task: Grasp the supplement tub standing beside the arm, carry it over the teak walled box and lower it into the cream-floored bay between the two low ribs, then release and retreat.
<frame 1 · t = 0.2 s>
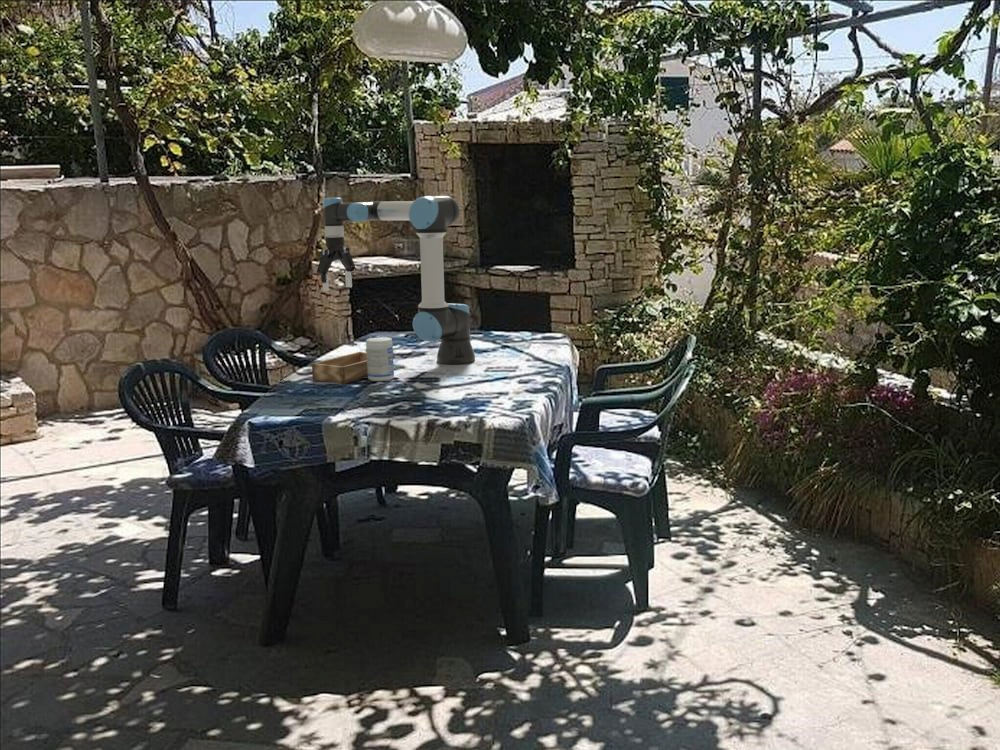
hand: (337, 289, 360), 28 cm above the table, fingers open, 13 cm apart
walled box: (352, 375, 329), on the table
supplement tub: (381, 379, 321), on the table
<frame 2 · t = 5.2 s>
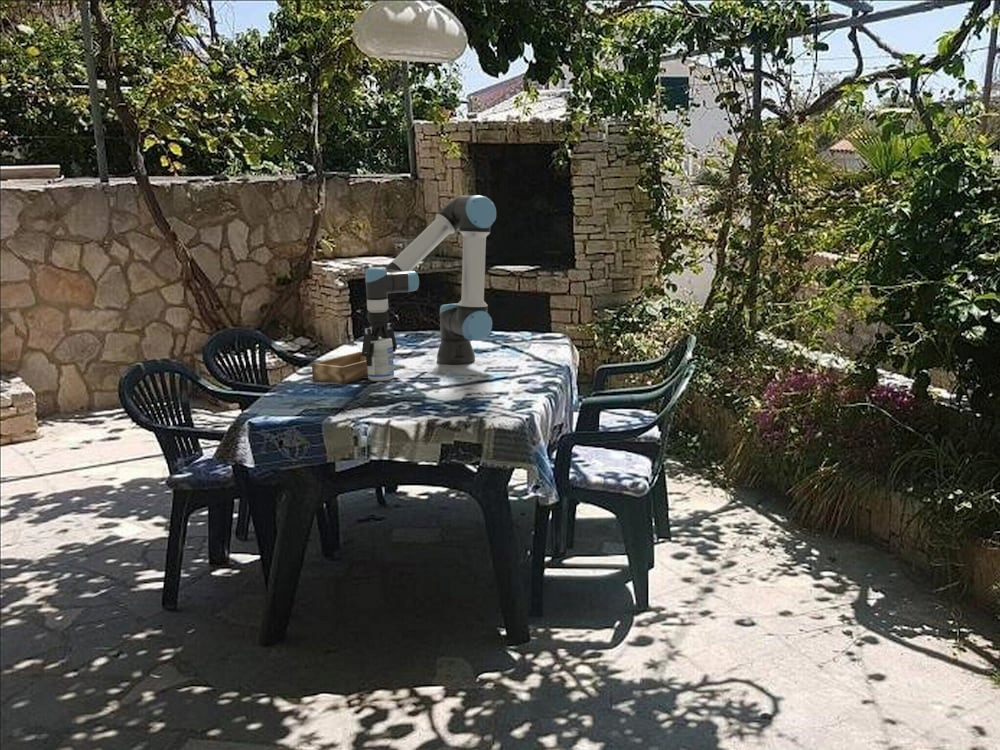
hand: (380, 371, 321), 3 cm above the table, fingers closed on supplement tub, 9 cm apart
supplement tub: (381, 379, 321), on the table, touching gripper
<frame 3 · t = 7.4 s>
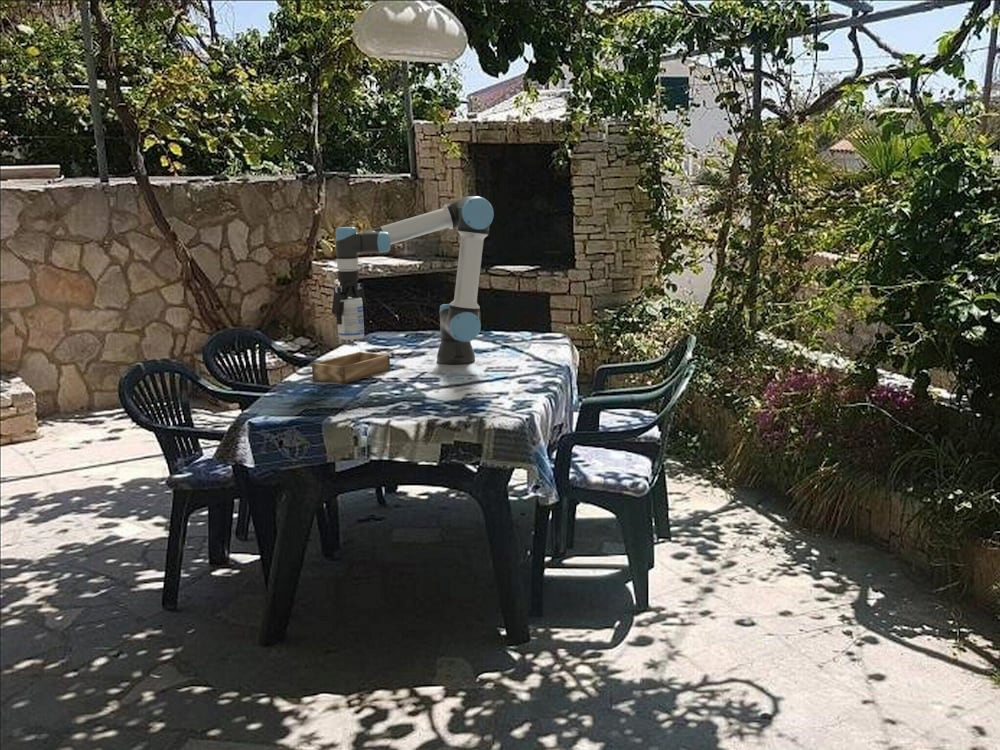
hand: (351, 330, 325), 17 cm above the table, fingers closed on supplement tub, 9 cm apart
supplement tub: (351, 338, 325), point 14 cm above the table, touching gripper
when the fingers open (5 cm above the table, at t = 10.1 s): supplement tub drops 1 cm, resting on walled box.
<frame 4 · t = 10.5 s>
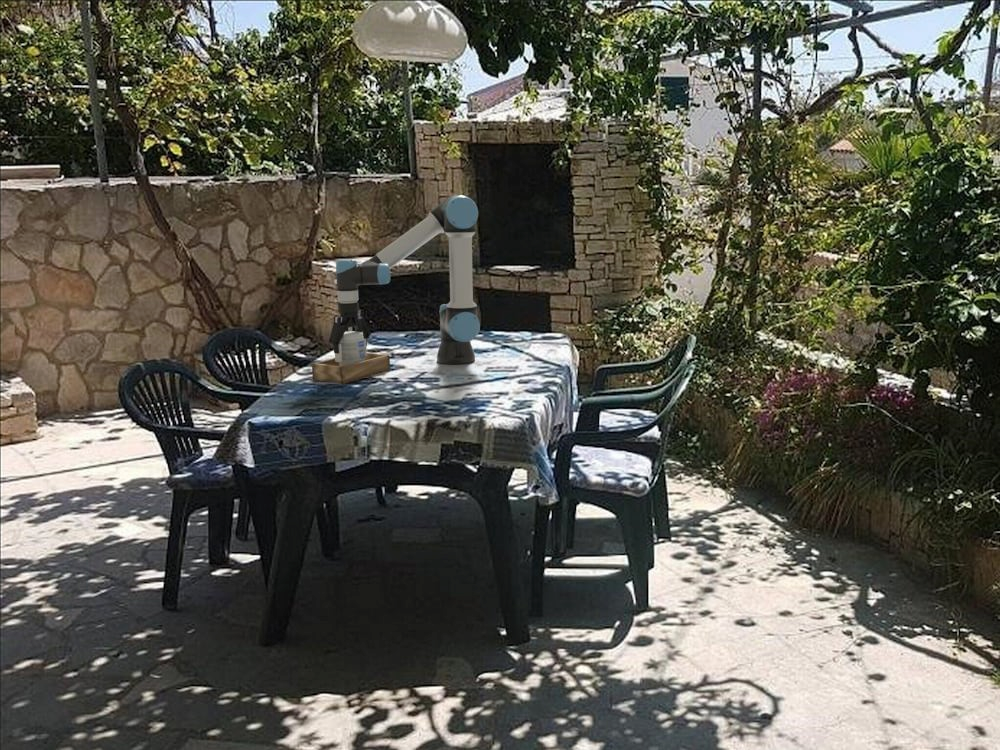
hand: (351, 358, 327), 6 cm above the table, fingers open, 13 cm apart
supplement tub: (352, 372, 329), point 1 cm above the table, touching walled box
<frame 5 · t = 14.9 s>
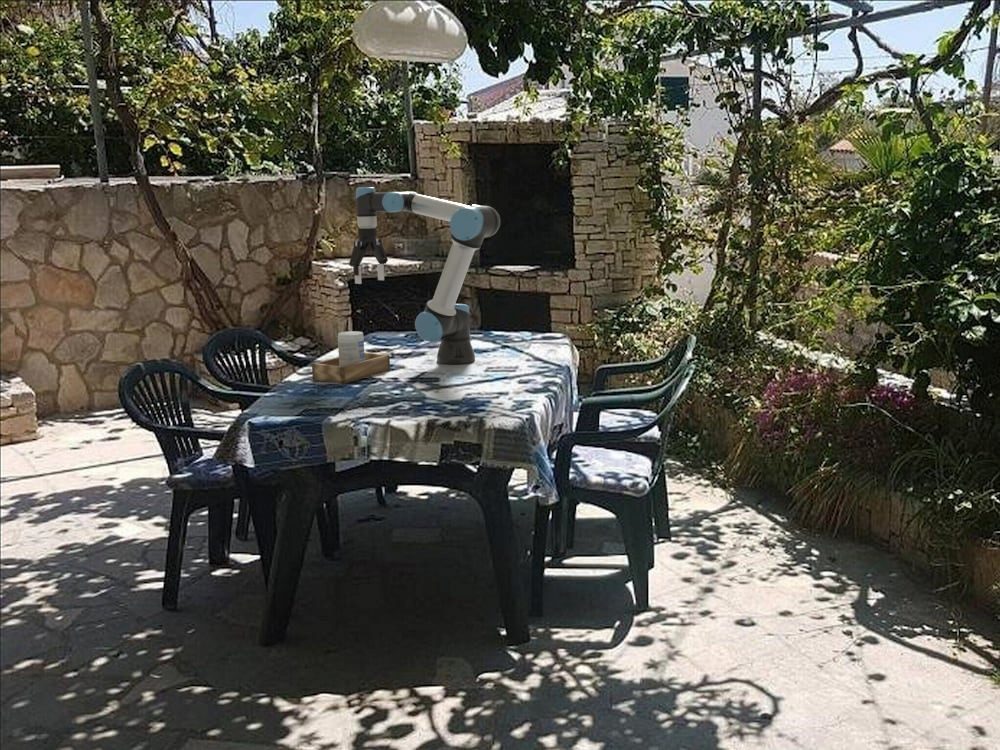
hand: (369, 282, 348), 32 cm above the table, fingers open, 13 cm apart
nothing on the table moved.
at the end: supplement tub inside the target area on the walled box (0.3 cm from its centre), point 0.9 cm above the walled box's base; supplement tub tilted 0°; the gripper is holding nothing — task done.
